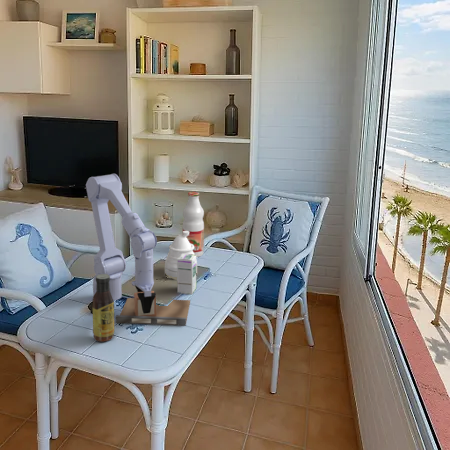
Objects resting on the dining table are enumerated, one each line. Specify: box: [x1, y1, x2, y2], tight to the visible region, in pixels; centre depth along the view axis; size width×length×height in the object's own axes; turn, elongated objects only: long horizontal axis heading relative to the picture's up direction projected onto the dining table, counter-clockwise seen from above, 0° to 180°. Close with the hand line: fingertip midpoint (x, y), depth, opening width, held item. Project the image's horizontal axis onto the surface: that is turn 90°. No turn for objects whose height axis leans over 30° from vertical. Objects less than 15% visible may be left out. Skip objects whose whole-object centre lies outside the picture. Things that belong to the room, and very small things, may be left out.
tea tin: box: [133, 290, 157, 316], centre depth 161 cm, size 4×6×7 cm
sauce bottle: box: [92, 274, 115, 343], centre depth 147 cm, size 6×6×20 cm
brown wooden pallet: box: [115, 297, 191, 327], centre depth 164 cm, size 22×18×3 cm
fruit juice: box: [181, 191, 205, 258], centre depth 216 cm, size 9×9×28 cm
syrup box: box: [176, 254, 198, 296], centre depth 179 cm, size 6×6×14 cm
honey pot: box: [164, 230, 198, 277], centre depth 196 cm, size 13×13×18 cm
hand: (144, 307), depth 161 cm, fingers open, 7 cm apart
